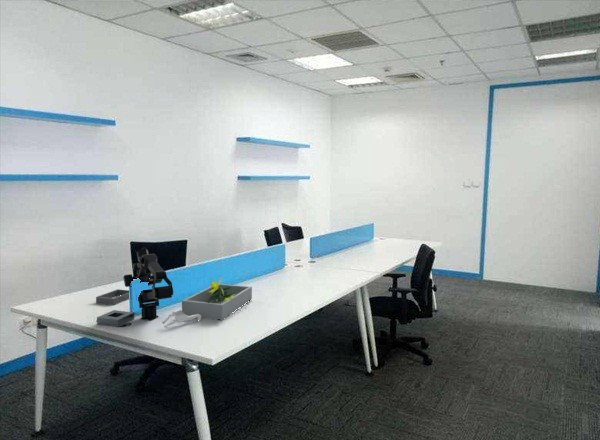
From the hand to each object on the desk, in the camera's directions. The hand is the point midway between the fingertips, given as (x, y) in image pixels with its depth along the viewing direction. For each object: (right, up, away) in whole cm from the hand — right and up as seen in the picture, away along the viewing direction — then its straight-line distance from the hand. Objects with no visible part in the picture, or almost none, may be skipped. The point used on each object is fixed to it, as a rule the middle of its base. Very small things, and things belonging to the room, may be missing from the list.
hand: (140, 287), depth 229 cm
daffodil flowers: (+40, -11, +7) cm, 42 cm away
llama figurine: (+28, -15, -21) cm, 38 cm away
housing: (-5, -14, -19) cm, 24 cm away
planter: (+41, -12, +7) cm, 43 cm away
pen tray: (-21, -10, +19) cm, 30 cm away
